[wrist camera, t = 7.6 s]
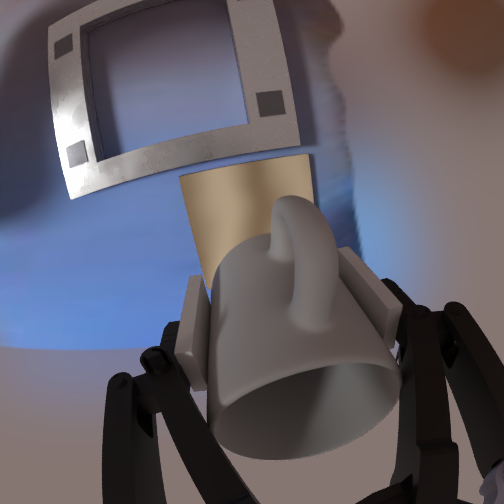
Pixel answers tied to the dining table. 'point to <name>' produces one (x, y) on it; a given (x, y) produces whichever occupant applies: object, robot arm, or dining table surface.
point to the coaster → (239, 203)
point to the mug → (292, 345)
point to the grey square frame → (180, 149)
